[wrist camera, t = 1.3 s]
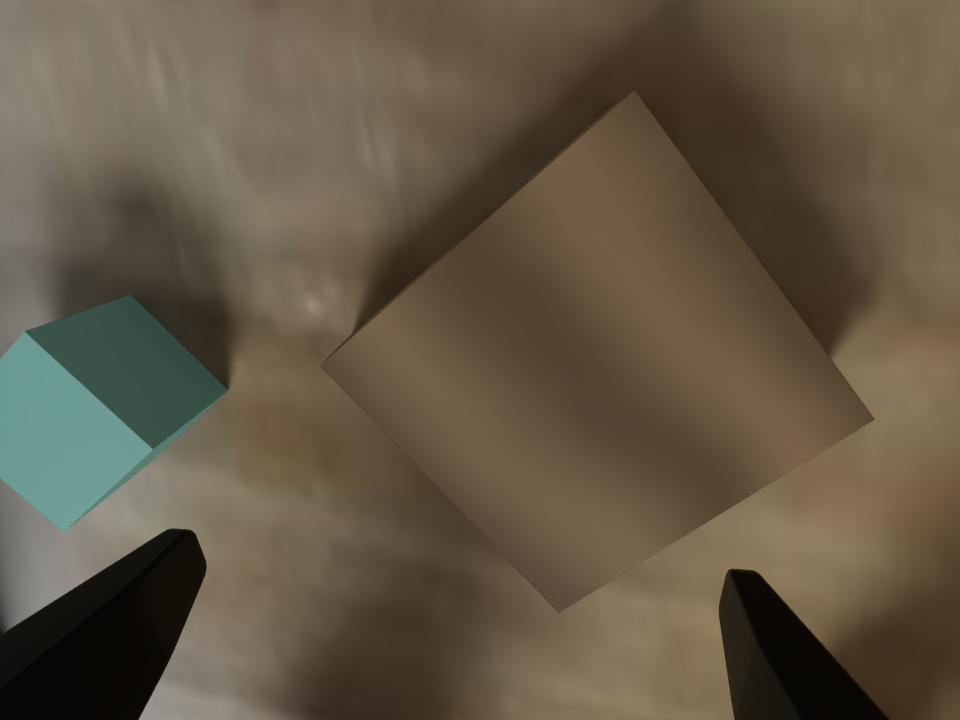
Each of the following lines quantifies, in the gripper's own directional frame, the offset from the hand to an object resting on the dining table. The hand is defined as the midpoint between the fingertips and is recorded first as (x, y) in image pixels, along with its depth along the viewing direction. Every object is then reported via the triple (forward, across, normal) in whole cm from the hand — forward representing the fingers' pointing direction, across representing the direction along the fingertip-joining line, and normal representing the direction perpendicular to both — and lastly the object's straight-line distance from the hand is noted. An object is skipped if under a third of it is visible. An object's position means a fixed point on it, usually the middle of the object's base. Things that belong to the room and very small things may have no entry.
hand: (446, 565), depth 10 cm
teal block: (+11, +15, +4) cm, 19 cm away
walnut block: (+13, -2, +3) cm, 13 cm away
